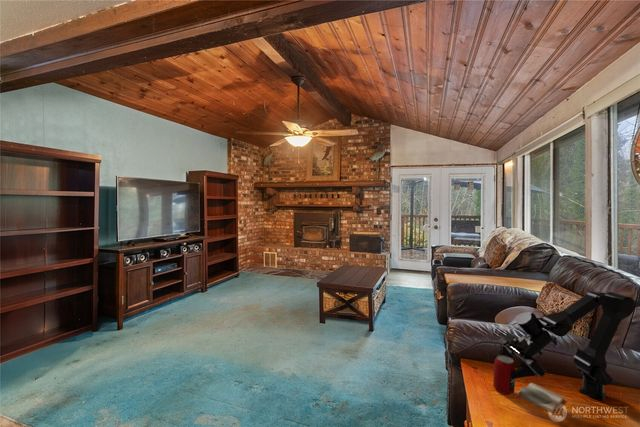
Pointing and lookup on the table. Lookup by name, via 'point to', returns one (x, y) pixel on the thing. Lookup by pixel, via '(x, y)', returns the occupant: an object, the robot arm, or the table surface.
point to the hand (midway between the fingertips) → (503, 370)
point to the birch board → (541, 396)
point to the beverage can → (504, 374)
